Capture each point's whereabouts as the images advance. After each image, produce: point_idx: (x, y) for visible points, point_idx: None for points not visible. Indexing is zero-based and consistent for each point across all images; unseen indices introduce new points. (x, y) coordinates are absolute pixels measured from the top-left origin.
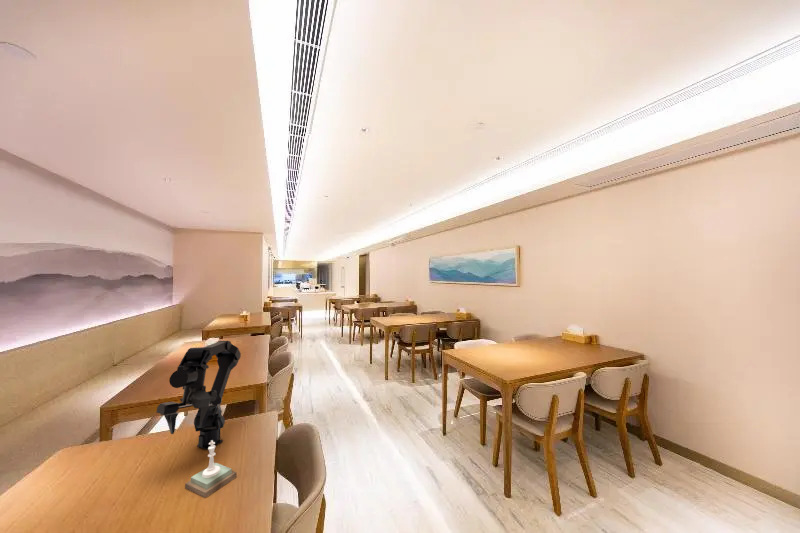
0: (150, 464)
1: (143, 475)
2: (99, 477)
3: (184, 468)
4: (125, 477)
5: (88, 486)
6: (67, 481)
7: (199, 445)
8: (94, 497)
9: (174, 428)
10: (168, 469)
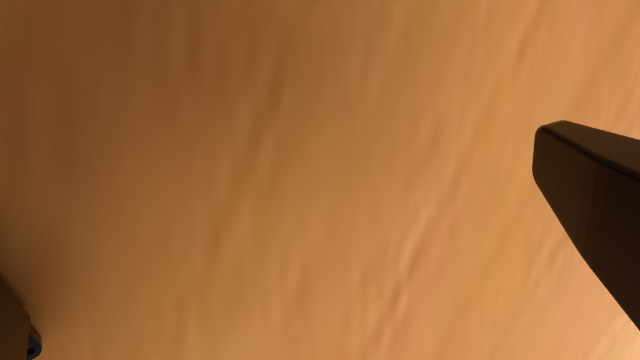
0: (358, 254)
1: (418, 135)
2: (543, 267)
3: (178, 6)
4: (482, 184)
5: None
6: (607, 307)
7: (19, 311)
8: (618, 70)
9: (630, 162)
10: (286, 96)
